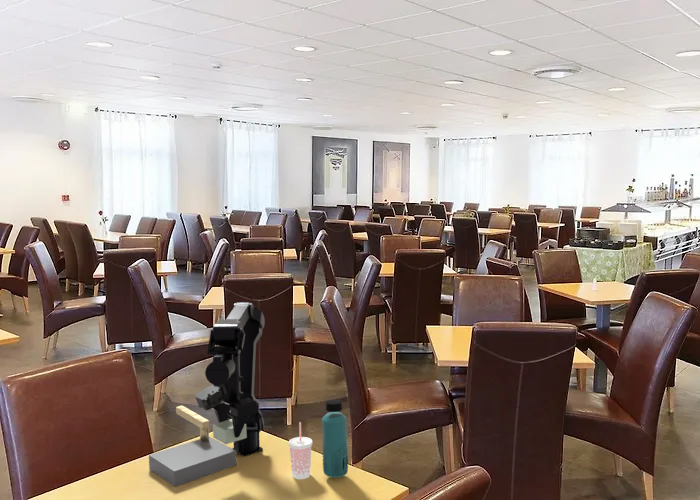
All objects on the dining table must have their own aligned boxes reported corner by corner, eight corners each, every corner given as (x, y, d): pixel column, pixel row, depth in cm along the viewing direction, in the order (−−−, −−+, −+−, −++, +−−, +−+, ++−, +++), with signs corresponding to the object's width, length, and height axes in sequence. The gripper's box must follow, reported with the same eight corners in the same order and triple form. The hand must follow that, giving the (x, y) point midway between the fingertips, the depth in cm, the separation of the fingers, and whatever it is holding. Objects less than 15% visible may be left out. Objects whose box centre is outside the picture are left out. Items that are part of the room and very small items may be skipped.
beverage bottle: (345, 484, 157) (344, 406, 155) (319, 482, 159) (318, 404, 157) (350, 473, 164) (349, 397, 162) (325, 471, 165) (324, 396, 163)
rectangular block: (233, 431, 164) (233, 418, 164) (246, 437, 159) (246, 424, 159) (213, 437, 160) (212, 424, 160) (225, 444, 155) (225, 430, 155)
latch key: (210, 439, 176) (209, 420, 175) (202, 442, 174) (202, 422, 174) (183, 423, 189) (182, 405, 189) (176, 425, 188) (175, 407, 187)
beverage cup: (318, 474, 163) (317, 421, 162) (300, 482, 159) (299, 428, 157) (301, 467, 167) (300, 416, 166) (284, 475, 163) (283, 422, 161)
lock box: (209, 450, 180) (208, 436, 179) (236, 465, 169) (236, 450, 169) (149, 469, 167) (148, 454, 167) (174, 486, 157) (174, 471, 157)
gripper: (181, 372, 160) (183, 432, 161) (219, 388, 146) (221, 453, 147) (219, 363, 167) (221, 421, 169) (259, 378, 153) (261, 440, 155)
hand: (230, 433), depth 160 cm, fingers closed on rectangular block, 6 cm apart
